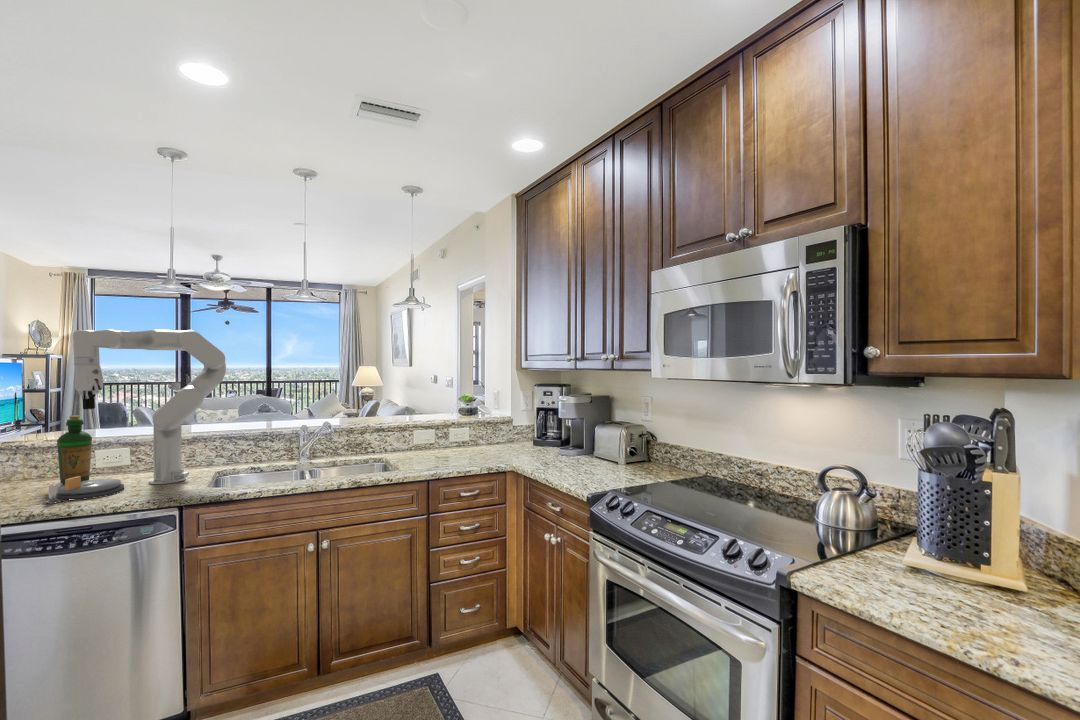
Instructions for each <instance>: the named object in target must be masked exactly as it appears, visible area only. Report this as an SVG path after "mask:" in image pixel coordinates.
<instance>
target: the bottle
mask: <svg viewBox="0 0 1080 720" xmlns="http://www.w3.org/2000/svg"><path fill="white" fill-rule="evenodd" d="M84 424H85V423H84V419H83V418H81V415H69V419H66V423H65V426H67V431H66V432H65V433H62V434H61V435H60V436H59V437H58V438H57V440H56V442H57V456H58V468H59V469H58V470H59V483H62V485H64V484H65V479H69V478H73V477H77V476H81V481H87V480H90V475H91V474H90V471H91V460H92V459H91V456H92V445H93V442H92V441H93V436H91V433H88V432H86V431H83V430H82V428H83V425H84Z"/></svg>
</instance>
